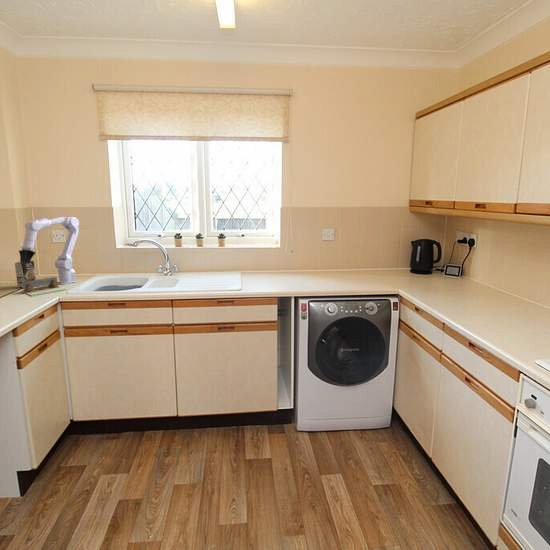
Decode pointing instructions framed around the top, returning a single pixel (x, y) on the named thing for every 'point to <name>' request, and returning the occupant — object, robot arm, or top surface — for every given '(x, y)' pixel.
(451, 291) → the top surface
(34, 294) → the mat
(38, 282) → the rail
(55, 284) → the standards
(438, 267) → the top surface
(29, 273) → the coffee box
